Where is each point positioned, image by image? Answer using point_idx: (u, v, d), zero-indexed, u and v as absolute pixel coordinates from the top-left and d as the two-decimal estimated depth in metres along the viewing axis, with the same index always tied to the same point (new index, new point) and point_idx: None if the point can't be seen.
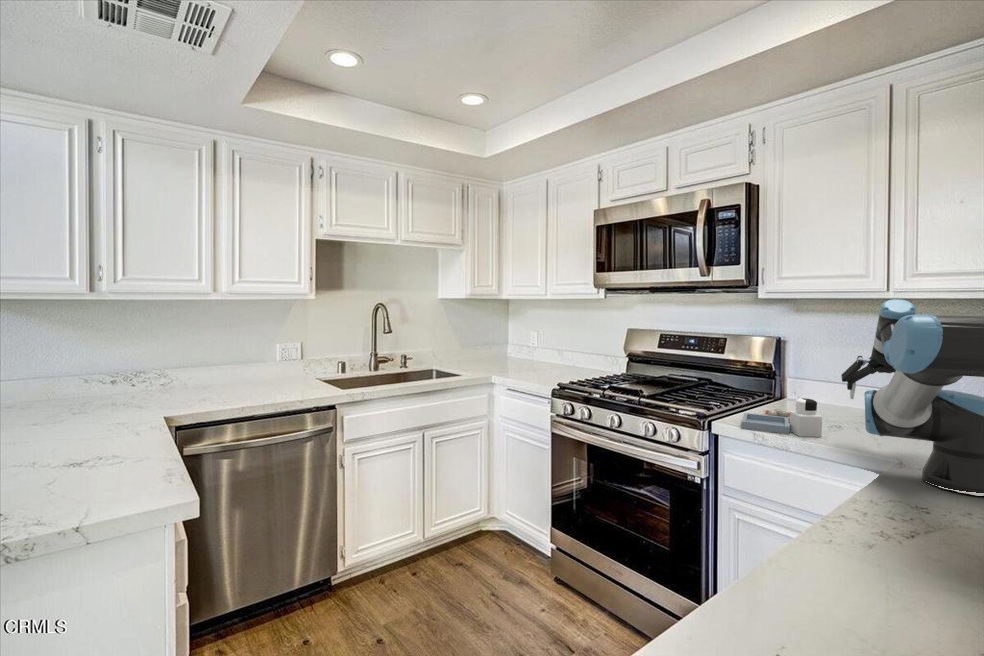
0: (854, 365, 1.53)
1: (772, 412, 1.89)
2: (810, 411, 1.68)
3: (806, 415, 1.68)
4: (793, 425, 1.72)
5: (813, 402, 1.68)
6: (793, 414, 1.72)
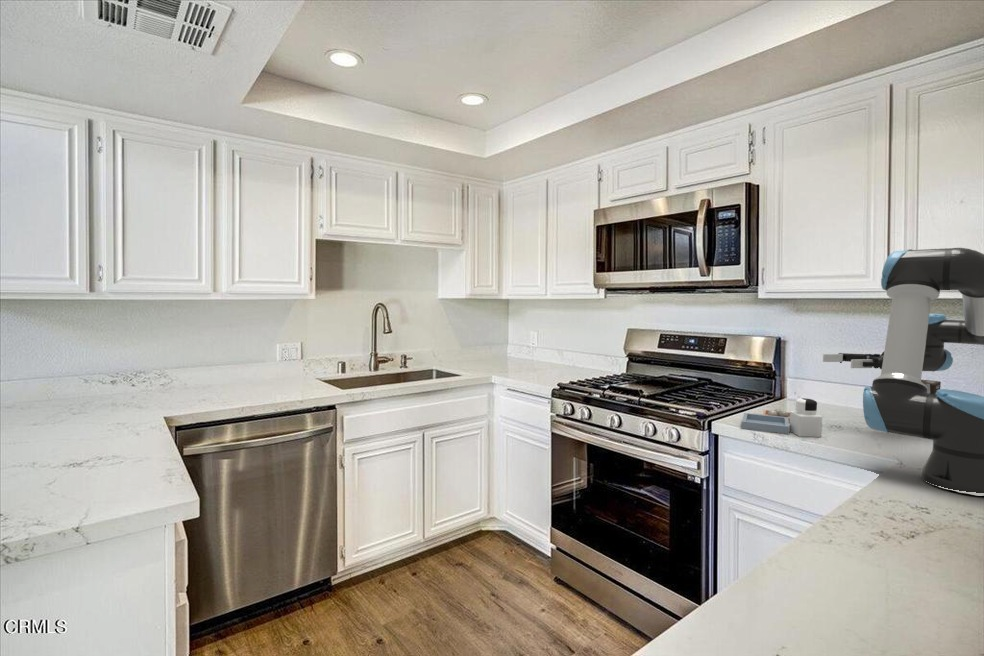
0: None
1: (772, 412, 1.89)
2: (810, 411, 1.68)
3: (806, 415, 1.68)
4: (793, 425, 1.72)
5: (813, 402, 1.68)
6: (793, 414, 1.72)
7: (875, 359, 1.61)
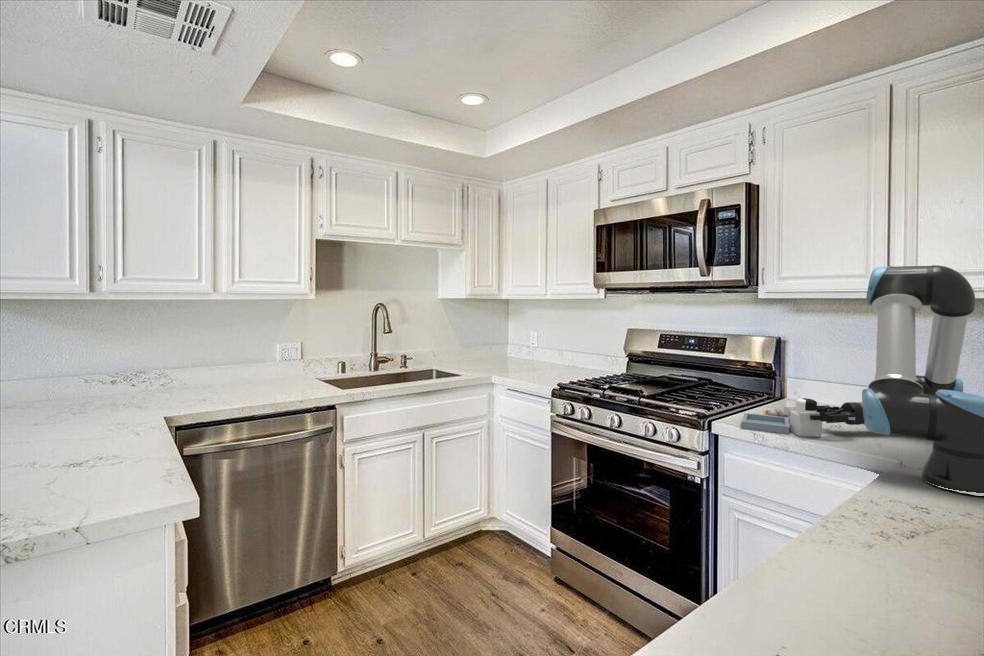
0: None
1: (772, 412, 1.89)
2: (810, 411, 1.68)
3: None
4: (793, 425, 1.72)
5: (813, 402, 1.68)
6: (793, 414, 1.72)
7: (821, 412, 1.66)
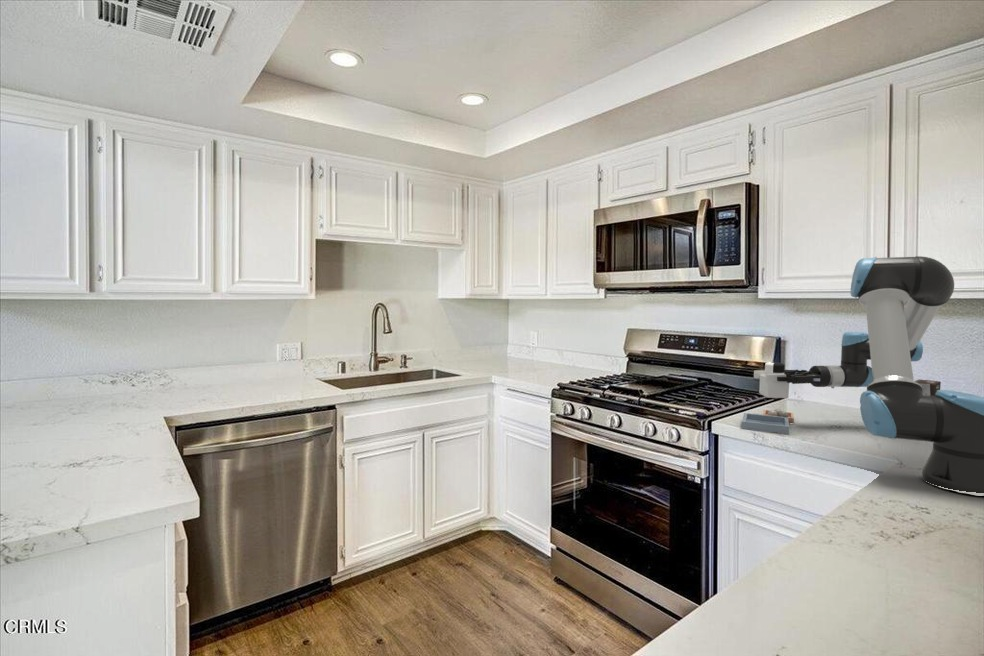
0: None
1: (772, 412, 1.89)
2: (778, 373, 1.76)
3: None
4: (762, 387, 1.80)
5: (781, 365, 1.76)
6: (762, 377, 1.80)
7: (787, 374, 1.73)
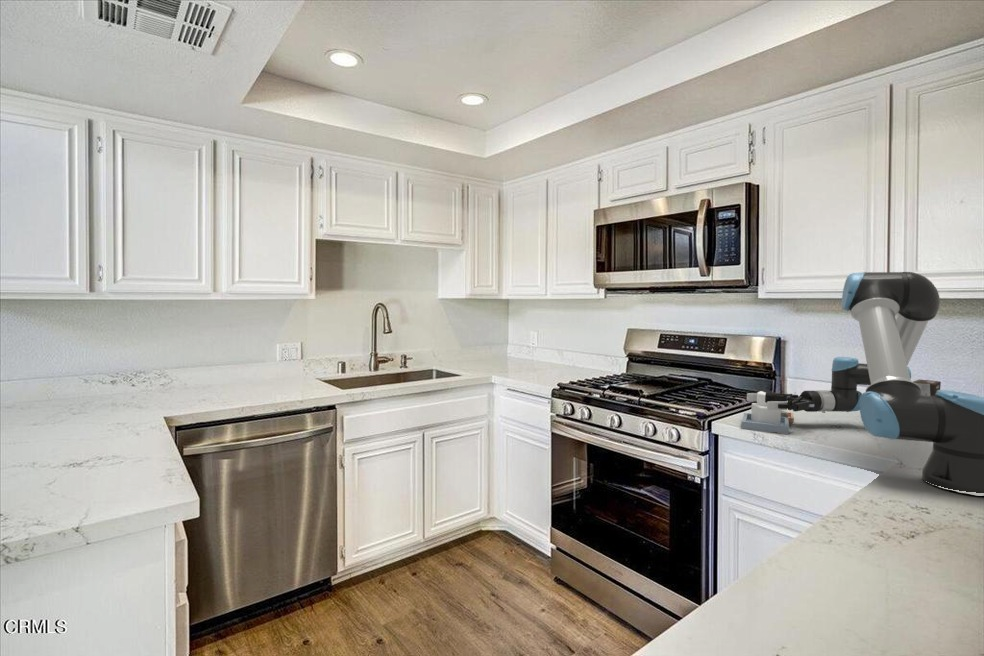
0: None
1: None
2: None
3: (766, 407, 1.77)
4: (754, 416, 1.82)
5: (772, 394, 1.77)
6: (754, 406, 1.81)
7: (789, 401, 1.72)
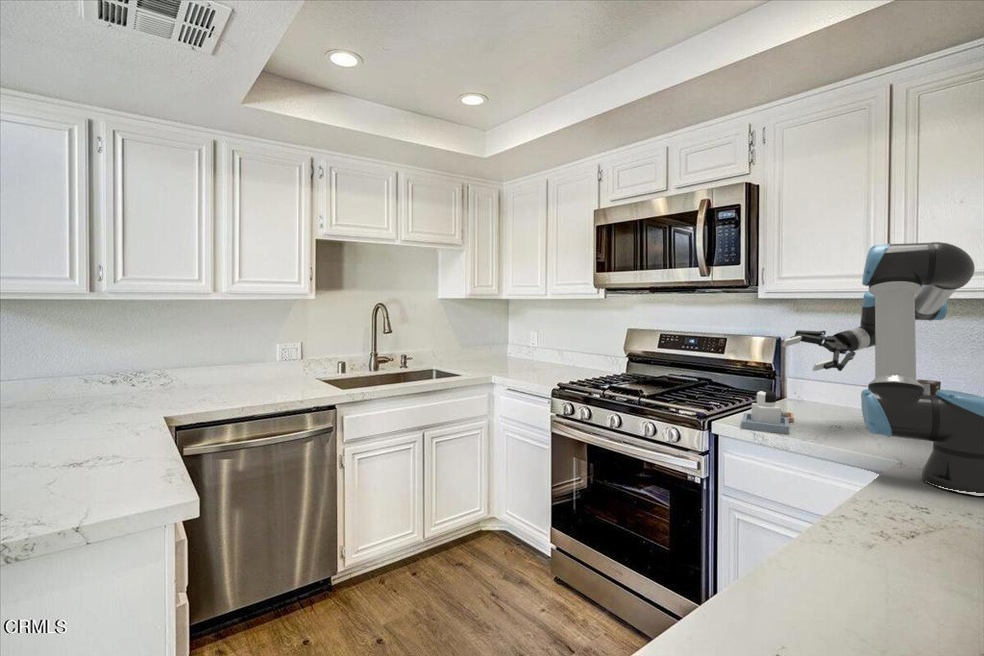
0: None
1: None
2: (770, 403, 1.77)
3: (766, 407, 1.77)
4: (754, 416, 1.82)
5: (772, 394, 1.77)
6: (754, 406, 1.81)
7: (836, 361, 1.66)
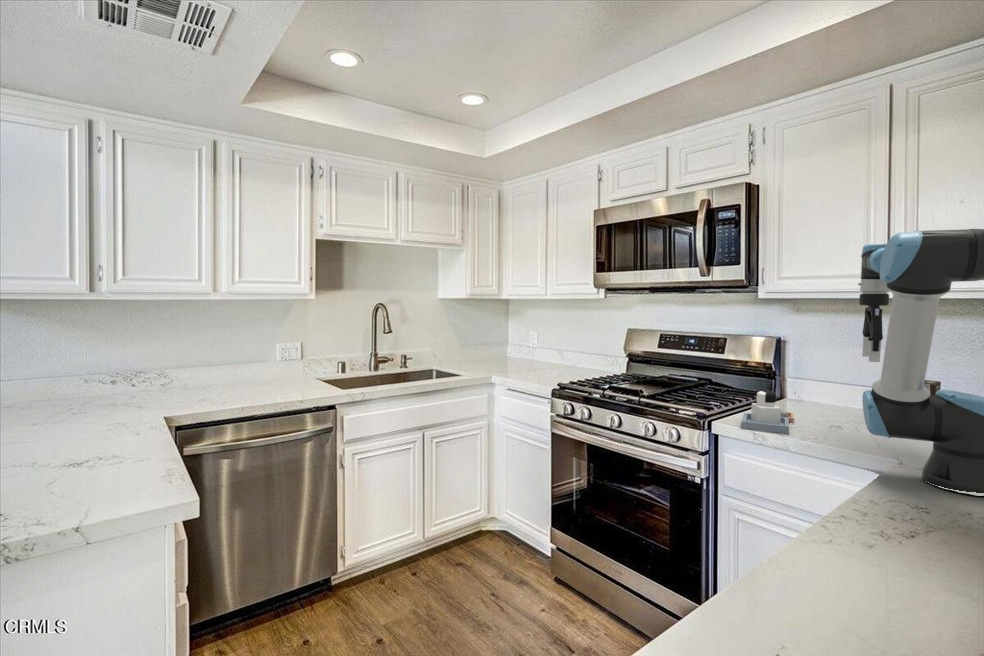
0: (877, 318, 1.54)
1: None
2: (770, 403, 1.77)
3: (766, 407, 1.77)
4: (754, 416, 1.82)
5: (772, 394, 1.77)
6: (754, 406, 1.81)
7: None
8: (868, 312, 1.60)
